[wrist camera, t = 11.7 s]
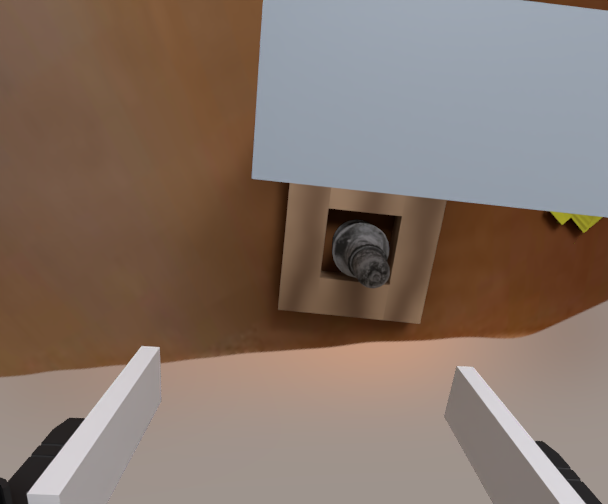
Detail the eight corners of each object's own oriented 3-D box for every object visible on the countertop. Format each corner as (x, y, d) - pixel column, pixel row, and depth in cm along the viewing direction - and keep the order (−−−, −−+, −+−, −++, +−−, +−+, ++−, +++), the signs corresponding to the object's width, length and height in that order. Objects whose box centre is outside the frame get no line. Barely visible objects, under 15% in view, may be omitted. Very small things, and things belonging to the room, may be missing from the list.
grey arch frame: (282, 165, 37) (251, 178, 15) (289, 82, 35) (265, -32, 13) (449, 183, 37) (641, 220, 16) (467, 103, 35) (715, 24, 14)
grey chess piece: (387, 258, 39) (422, 301, 28) (338, 273, 40) (352, 322, 28) (373, 209, 38) (404, 234, 26) (322, 226, 38) (331, 258, 27)
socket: (279, 300, 41) (277, 309, 38) (296, 121, 35) (295, 118, 33) (412, 313, 41) (419, 323, 39) (449, 138, 36) (460, 137, 33)
